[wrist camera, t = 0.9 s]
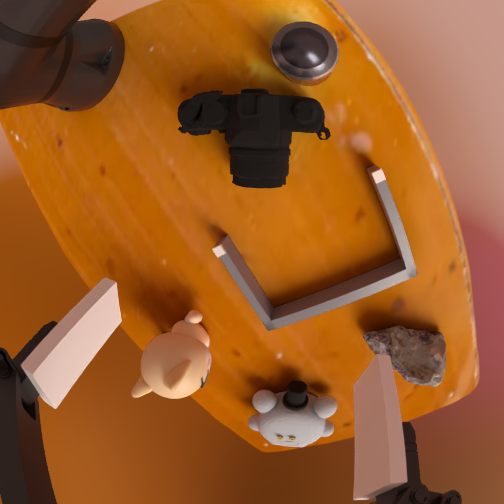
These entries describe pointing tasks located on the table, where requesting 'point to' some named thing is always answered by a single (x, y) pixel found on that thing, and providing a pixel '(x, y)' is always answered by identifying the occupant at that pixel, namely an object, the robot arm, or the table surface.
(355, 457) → the robot arm
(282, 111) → the film camera
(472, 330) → the table surface
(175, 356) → the kitten
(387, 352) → the mineral rock
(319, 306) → the bracket
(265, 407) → the figurine
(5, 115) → the table surface
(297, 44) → the lens
